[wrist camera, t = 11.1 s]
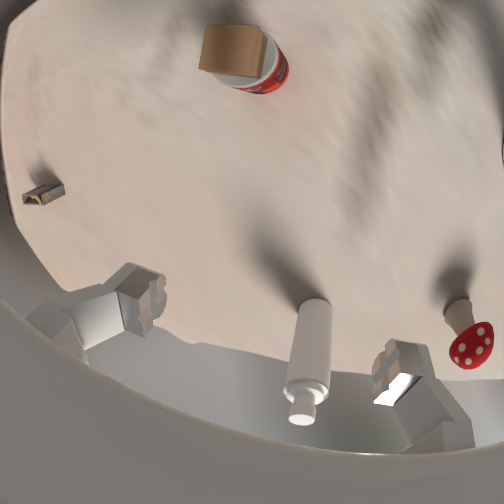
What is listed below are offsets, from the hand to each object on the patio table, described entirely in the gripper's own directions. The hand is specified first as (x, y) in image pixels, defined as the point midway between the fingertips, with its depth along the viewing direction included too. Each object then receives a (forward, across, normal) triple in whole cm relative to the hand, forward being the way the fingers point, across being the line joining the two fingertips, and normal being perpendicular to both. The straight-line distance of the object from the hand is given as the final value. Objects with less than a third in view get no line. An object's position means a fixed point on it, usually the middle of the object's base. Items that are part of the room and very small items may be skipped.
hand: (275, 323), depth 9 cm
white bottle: (+34, -8, +27) cm, 44 cm away
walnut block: (+23, +10, -12) cm, 28 cm away
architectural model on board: (+35, +60, +16) cm, 71 cm away
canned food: (+34, +10, -12) cm, 38 cm away
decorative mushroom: (+34, -37, +18) cm, 54 cm away
